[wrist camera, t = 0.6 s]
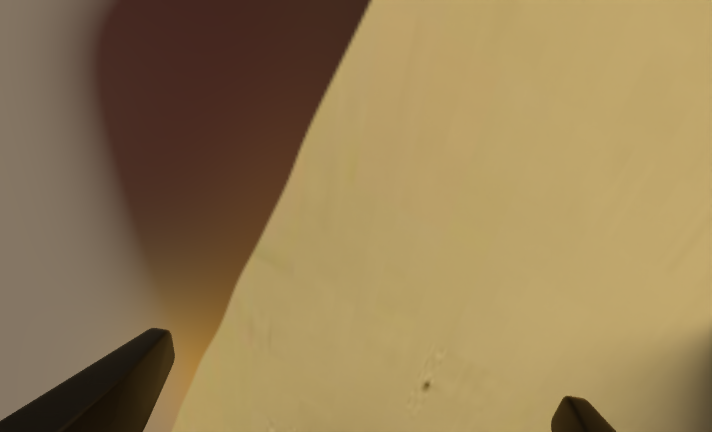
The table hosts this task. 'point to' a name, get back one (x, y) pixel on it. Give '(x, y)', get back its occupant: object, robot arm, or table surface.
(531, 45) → the table surface
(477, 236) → the table surface
